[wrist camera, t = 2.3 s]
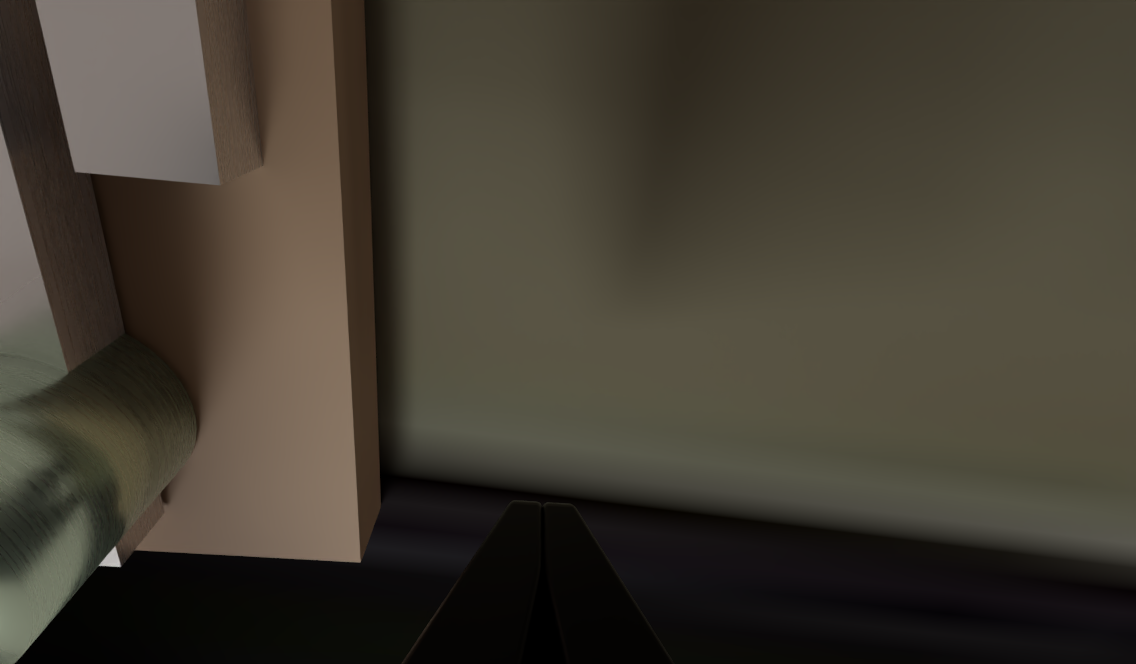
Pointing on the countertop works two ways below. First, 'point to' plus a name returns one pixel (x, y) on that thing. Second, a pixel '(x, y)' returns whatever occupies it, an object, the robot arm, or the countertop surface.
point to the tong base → (155, 87)
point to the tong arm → (66, 366)
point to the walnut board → (267, 305)
